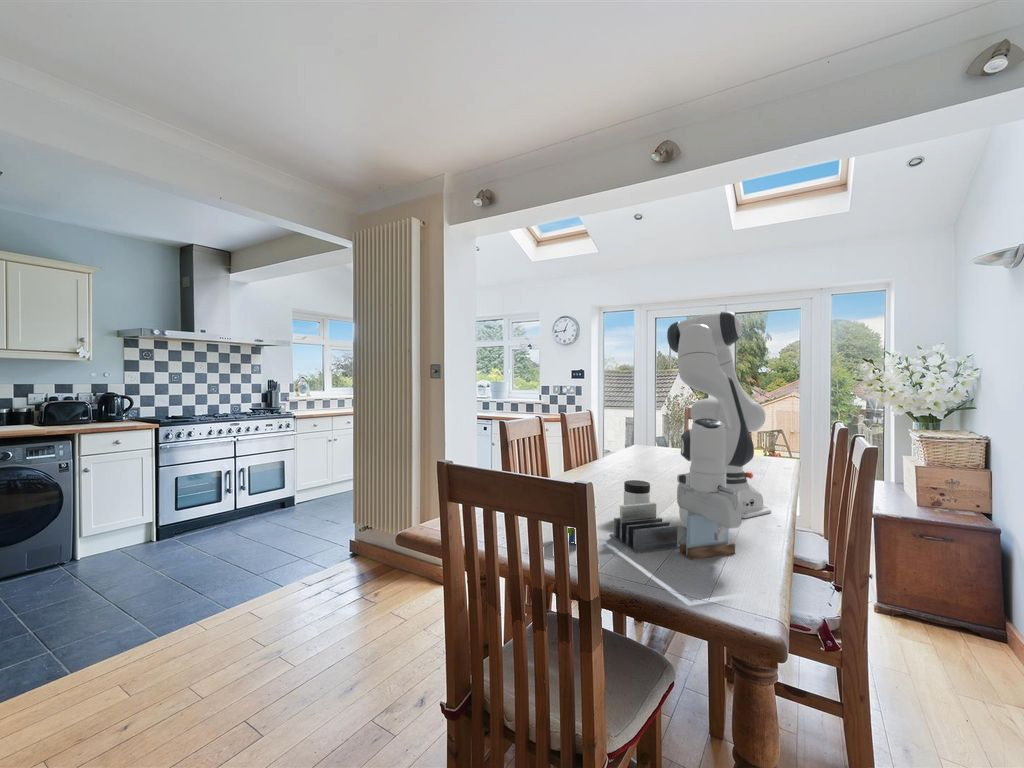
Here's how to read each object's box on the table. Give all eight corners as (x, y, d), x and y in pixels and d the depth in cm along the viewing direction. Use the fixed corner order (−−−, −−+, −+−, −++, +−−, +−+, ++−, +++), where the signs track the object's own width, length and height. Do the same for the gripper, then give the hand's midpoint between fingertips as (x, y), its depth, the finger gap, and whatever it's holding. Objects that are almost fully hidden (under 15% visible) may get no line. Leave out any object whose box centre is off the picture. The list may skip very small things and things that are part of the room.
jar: (655, 520, 150) (656, 483, 150) (640, 525, 145) (641, 487, 145) (632, 513, 157) (633, 478, 157) (617, 518, 152) (618, 482, 152)
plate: (724, 549, 123) (724, 512, 123) (728, 551, 122) (728, 513, 122) (686, 554, 120) (686, 516, 119) (689, 556, 118) (690, 517, 118)
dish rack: (651, 533, 138) (652, 499, 138) (682, 550, 124) (682, 513, 124) (609, 538, 134) (610, 503, 133) (636, 556, 120) (636, 517, 120)
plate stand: (722, 549, 125) (722, 538, 125) (736, 556, 120) (736, 544, 120) (678, 555, 121) (678, 543, 121) (691, 562, 116) (691, 550, 116)
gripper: (748, 490, 111) (747, 547, 112) (692, 473, 131) (691, 521, 131) (726, 492, 109) (725, 550, 110) (673, 474, 129) (672, 523, 129)
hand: (706, 534), depth 121 cm, fingers open, 8 cm apart
